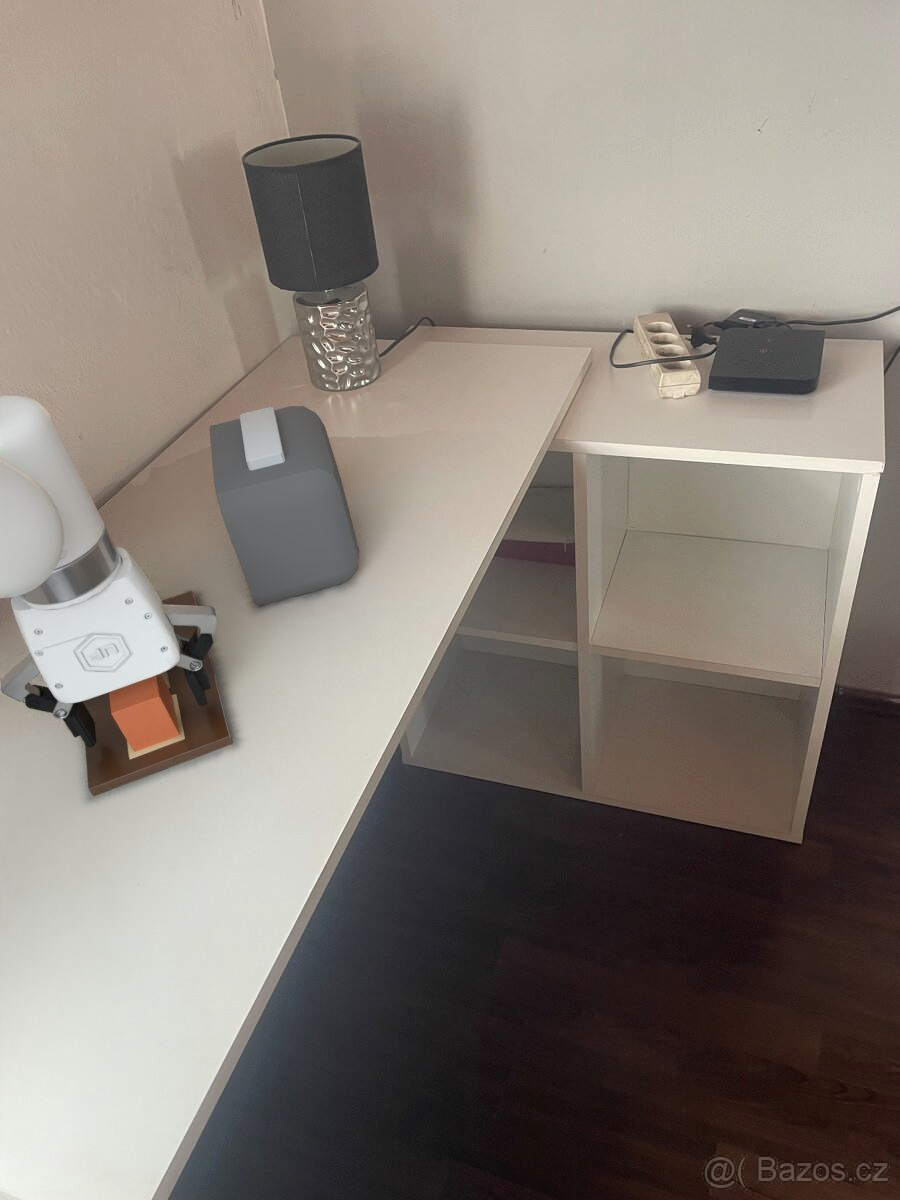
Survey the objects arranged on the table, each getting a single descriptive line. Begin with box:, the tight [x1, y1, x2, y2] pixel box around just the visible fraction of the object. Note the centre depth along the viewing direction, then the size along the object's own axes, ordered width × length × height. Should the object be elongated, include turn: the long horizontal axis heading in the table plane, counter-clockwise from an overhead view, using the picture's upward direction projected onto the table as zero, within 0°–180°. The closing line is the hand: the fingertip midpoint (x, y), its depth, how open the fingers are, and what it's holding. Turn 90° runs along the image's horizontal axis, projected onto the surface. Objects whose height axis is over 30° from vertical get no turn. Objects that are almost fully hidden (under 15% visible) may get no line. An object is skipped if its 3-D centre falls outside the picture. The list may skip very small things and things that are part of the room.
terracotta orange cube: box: [109, 674, 180, 752], centre depth 74 cm, size 5×4×5 cm
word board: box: [82, 590, 233, 797], centre depth 81 cm, size 22×12×1 cm, turn 21°
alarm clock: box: [209, 405, 360, 607], centre depth 88 cm, size 16×11×16 cm
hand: (147, 715), depth 75 cm, fingers open, 9 cm apart
